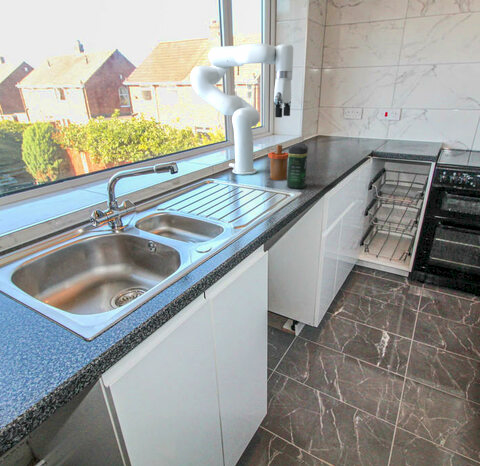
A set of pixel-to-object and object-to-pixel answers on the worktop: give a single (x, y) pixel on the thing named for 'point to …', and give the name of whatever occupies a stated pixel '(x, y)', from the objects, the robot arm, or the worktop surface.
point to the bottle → (278, 166)
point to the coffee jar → (297, 166)
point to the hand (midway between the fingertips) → (282, 116)
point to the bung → (278, 156)
